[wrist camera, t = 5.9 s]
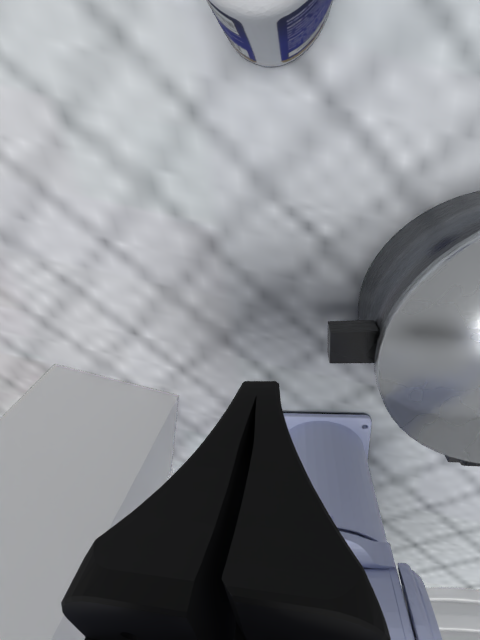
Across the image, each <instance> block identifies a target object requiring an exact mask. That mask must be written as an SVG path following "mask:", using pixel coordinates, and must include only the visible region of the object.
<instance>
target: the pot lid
mask: <svg viewBox="0 0 480 640" xmlns="http://www.w3.org/2000/svg"><path fill="white" fill-rule="evenodd" d="M375 375H376V382H377V385H378V388H379V391H380V394H381V396H382V399H383V402H384V404H385V407H386V408H387V410H388V412H389V414H390V415H391V417H392V418H393V420H394V421H395V422H396V423H397V424H398V426H399V427H400V428H401V429H402V430H403V431H405V432H406V433H407V434H408V435H409V436H410V437H412V438H413V439H415V440H416V441H418V442H419V443H421V444H422V445H424V446H426V447H428V448H430V449H432V450H434V451H436V452H439V453H441V454H444V455H447V456H449V457H453V458H456V459H458V460H459V462H460V464H461V465H463V466H480V231H478V232H476V233H475V234H473V235H471V236H470V237H468V238H466V239H465V240H463V241H461V242H460V243H458V244H456V245H455V246H453V247H452V248H451V249H449V250H448V251H447V252H445V253H444V254H443V255H441V256H440V257H439V258H437V259H436V260H435V261H434V262H432V263H431V264H430V265H429V266H428V267H427V268H426V269H425V270H424V271H423V272H421V273H420V274H419V275H418V276H417V277H416V278H415V279H414V281H413V282H412V283H411V284H410V285H409V286H408V287H407V288H406V290H405V291H404V292H403V293H402V294H401V296H400V297H399V299H398V300H397V302H396V303H395V305H394V306H393V307H392V309H391V311H390V313H389V315H388V317H387V318H386V320H385V322H384V324H383V327H382V329H381V332H380V335H379V338H378V341H377V346H376V352H375Z"/></svg>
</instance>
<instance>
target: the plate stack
mask: <svg viewBox="0 0 480 640" xmlns="http://www.w3.org/2000/svg"><path fill="white" fill-rule="evenodd" d="M425 588H426V591H427V593H428V596H429V599H430V602H431V605H432V608H433V611H434V614H435V617H436V620H437V624H438V627H439V630H440V633H441V637H442V640H480V590H479V589H469V588H456V587H425ZM402 592H403V591H402Z"/></svg>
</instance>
